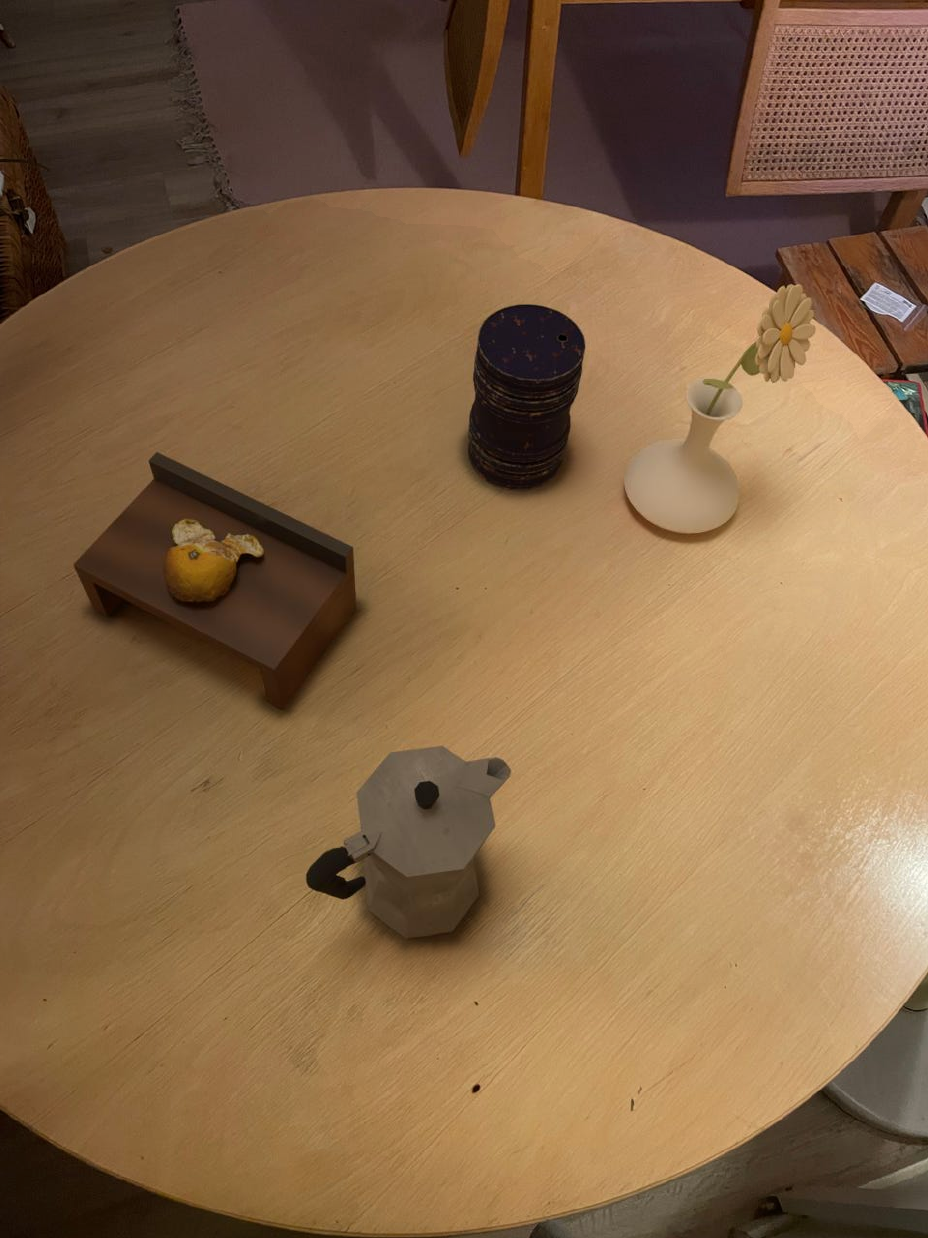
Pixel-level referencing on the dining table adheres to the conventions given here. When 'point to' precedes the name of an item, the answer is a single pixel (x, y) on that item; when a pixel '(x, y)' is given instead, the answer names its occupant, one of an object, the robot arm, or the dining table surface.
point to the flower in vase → (689, 469)
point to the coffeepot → (417, 839)
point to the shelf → (261, 589)
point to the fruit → (204, 561)
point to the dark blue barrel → (523, 395)
